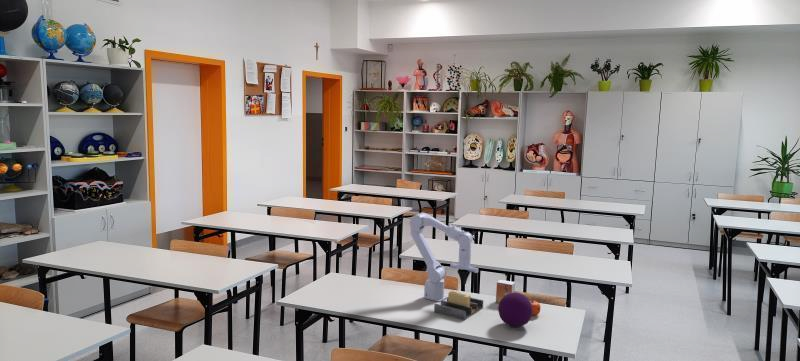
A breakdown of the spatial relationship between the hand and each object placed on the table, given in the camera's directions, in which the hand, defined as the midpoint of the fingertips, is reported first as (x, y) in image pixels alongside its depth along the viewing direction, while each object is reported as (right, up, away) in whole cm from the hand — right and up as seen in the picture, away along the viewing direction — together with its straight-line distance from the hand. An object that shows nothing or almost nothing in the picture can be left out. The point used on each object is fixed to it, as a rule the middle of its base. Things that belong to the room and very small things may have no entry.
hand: (463, 284), depth 282 cm
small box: (+21, -10, +4) cm, 23 cm away
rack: (-3, -11, -9) cm, 14 cm away
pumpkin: (+31, -12, -12) cm, 35 cm away
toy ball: (+20, -14, -27) cm, 36 cm away
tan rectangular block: (-3, -10, -9) cm, 14 cm away
